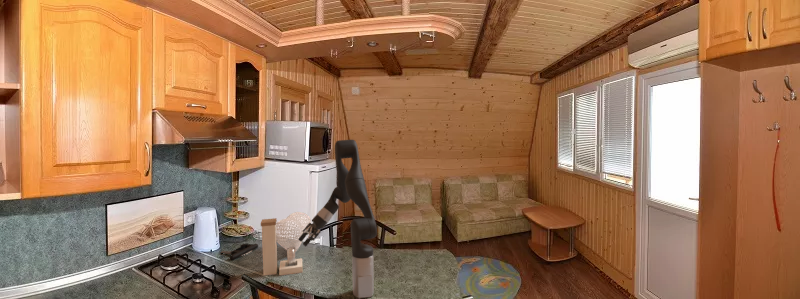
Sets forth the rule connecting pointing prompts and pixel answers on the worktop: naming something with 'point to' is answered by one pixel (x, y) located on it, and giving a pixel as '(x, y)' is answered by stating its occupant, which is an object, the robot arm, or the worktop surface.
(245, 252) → the door handle
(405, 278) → the worktop surface
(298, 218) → the heart
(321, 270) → the worktop surface
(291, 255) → the steel pin
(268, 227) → the slotted post
